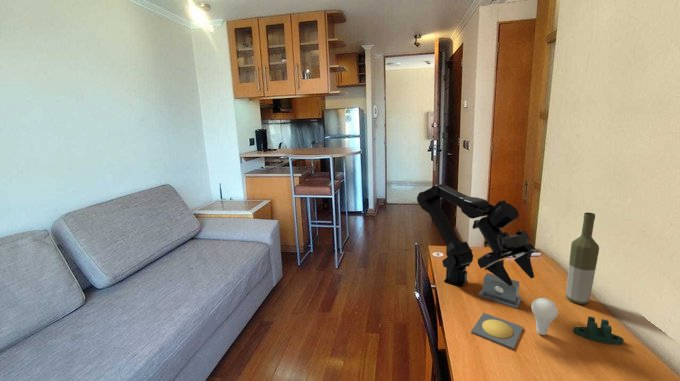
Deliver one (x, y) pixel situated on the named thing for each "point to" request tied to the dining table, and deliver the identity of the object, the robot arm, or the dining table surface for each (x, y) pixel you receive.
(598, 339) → the mount
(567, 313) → the dining table surface
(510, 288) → the lamp housing
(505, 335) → the parts mat
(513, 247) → the robot arm
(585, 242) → the bottle
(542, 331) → the lightbulb
